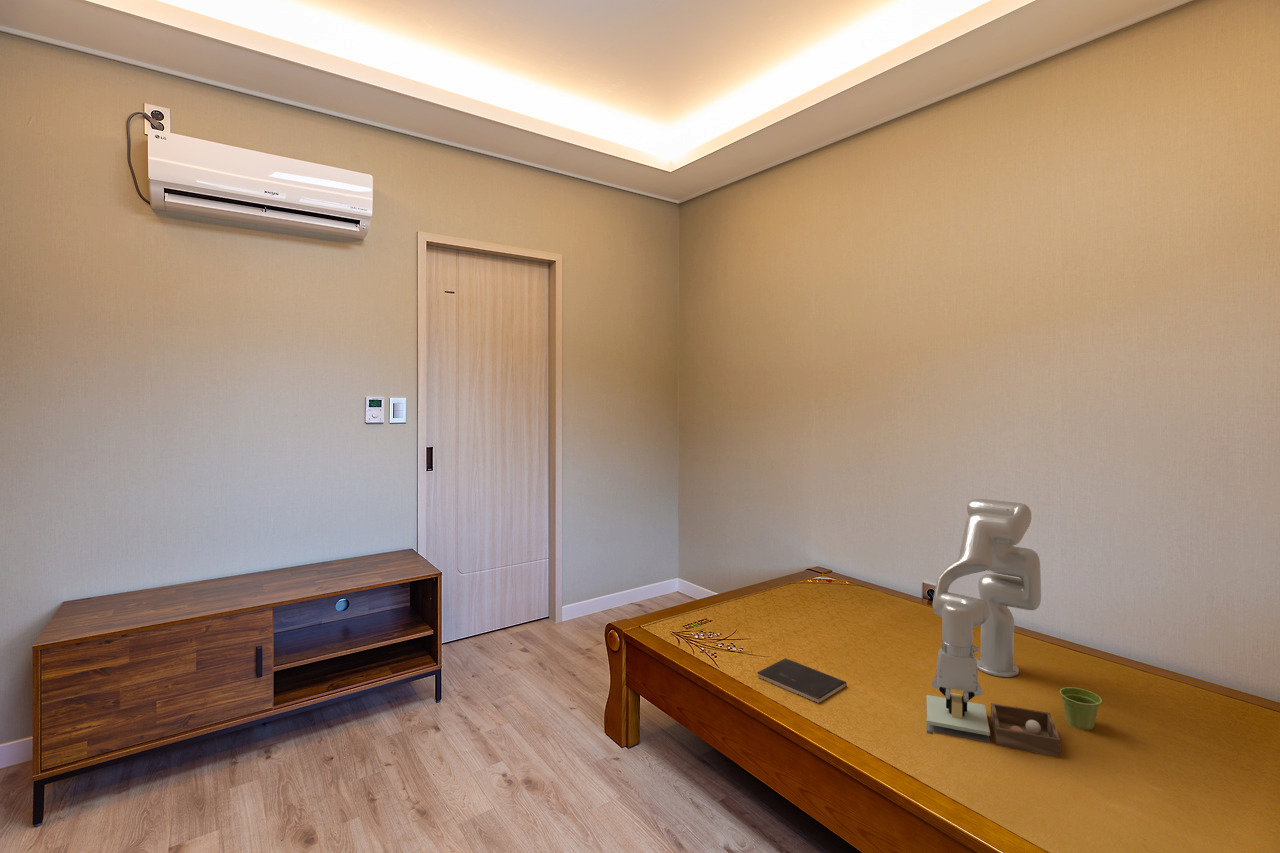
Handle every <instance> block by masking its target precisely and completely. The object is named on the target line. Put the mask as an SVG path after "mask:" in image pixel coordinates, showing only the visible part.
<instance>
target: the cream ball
mask: <svg viewBox="0 0 1280 853" xmlns="http://www.w3.org/2000/svg"><path fill="white" fill-rule="evenodd" d="M1025 727H1026V730H1027V731H1028V732H1029V733H1032V734H1039V733H1040V732H1041V726H1040V724H1039V723H1038V722H1037V721H1035V720H1028V721H1027V722H1026V724H1025Z"/></svg>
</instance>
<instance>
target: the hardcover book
mask: <svg viewBox="0 0 1280 853" xmlns="http://www.w3.org/2000/svg"><path fill="white" fill-rule="evenodd" d="M756 674H758V679H761V680H763V679H764V681H765V680H766V681H765V682H768V683H770V684H772V683H773V684H772V685H775V686H778V687H779V686H780V688H782V689H784V690H787V691H789V692H792V693H793V692H794V693H793V694H795V693H796V695H798V694H799V695H798V696H800V695H801V697H802V696H803V697H802V698H805V699H807V698H808V699H807V700H809V699H810V700H809V701H812V702H814V701H815V702H814V703H816V702H817V703H816V704H820V703H822V702H823V701H825V700H826V699H827V698H828V699H829V697H831V696H832V695H834V694H836V693H838V691H841V690H842V689H844V688H845V687H847V684H848V683H847V681H845V680H842V679H840V678H837V677H835V676H832V675H829V674H828V673H824V672H822V671H819V670H817V669H814V668H812V667H808V666H807V665H804V664H801V663H800V662H797V661H795V660H794V661H793V660H791V659H789V658H786V657H785V658H783V659H781V660H779V661H777V662H774V664H773V663H772V664H771V665H769V666H767V667H765V668H763V669H761V670H759V671H758V672H756ZM819 702H820V703H819Z"/></svg>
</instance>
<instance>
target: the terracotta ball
mask: <svg viewBox="0 0 1280 853" xmlns="http://www.w3.org/2000/svg"><path fill="white" fill-rule="evenodd" d="M1009 729H1010V730H1016V731H1021V732H1024V731H1023V730H1022V729H1021V728H1020V727H1018V726H1011V727H1010V728H1009Z"/></svg>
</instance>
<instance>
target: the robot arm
mask: <svg viewBox="0 0 1280 853" xmlns="http://www.w3.org/2000/svg"><path fill="white" fill-rule="evenodd" d="M966 511H967V514H968V516H967V518H966V520H965V526H964V531H963V534H962V535H963V536H962V540H961V546H960V549H959V556H958V558H957V559H956V560H955V561H954V562H952V563H951V564H949V565H948V566H947V567H946V568H945V569H944V570H943V571H942V572H941V573H940V575H939V577H938V579H937V581H936V584H935V589H934V592H933V597H932V598H933V600H932V610H933V612H934V614H935V615H936V616H937V617H940V618H942V619H941V620H942V624H941V625H942V628H941V630H942V631H941V634H942V636H941V637H942V638H941V647H940V648H939V649H938V651H937V652H938V653H937V660H936V670H935V671H936V674H935V677H934V678H933V680H931V687H933V688H934V689H936V690H938V691H939V692H940V693H941V694H942V695H943V697H944V698H946V708H947V709H949V713H952V697H951V693H952V692H951V690H955V691H956V690H957V691H962V695H961V698H962V716H964V712H967V702H970V700H972V699H973V698H974V697H978V696H979V697H980V696H982V695H983V694H984V693H983V692H984V691H983V690H982V687H981V685H980V683H979V678H978V677H979V676H978V670H980V671H981V672H983V673H985V674H989V675H991V676H994V677H1000V678H1001V677H1003V678H1011V677H1013V678H1014V677H1015V676H1017V675H1019V672H1020V670H1019V667H1018V666H1017V664H1014V659H1015V658H1014V656H1015V655H1014V654H1015V652H1014V650H1015V649H1014V648H1015V647H1014V646H1015V618H1014V615H1013V613H1012V611H1011V610H1010V608H1014V609H1020V610H1026V611H1036V610H1037V609H1038V608H1040V606H1041V602H1042V601H1041V600H1042V588H1041V587H1042V586H1041V560H1040V557H1039V554H1038V552H1036V551H1035V550H1033V549H1031V548H1027V547H1020V546H1017V545H1018V544H1020V542H1021V541H1022V539H1023V538H1024V536H1025V534H1026V533H1027V531H1028V529H1029V527H1030V525H1031V521H1032V512H1031V509H1030V507H1029V506H1028V505H1027V504H1025V503H1021V502H1014V501H1005V500H996V499H983V498H973V499H971V500H969V501H968V502H967V506H966ZM986 571H987V572H989V573H986V574H983V575H982V576H981V577H980V578H979V580H978V583H977V584H978V586H977V587H978V594H979V598H978V597H973V596H968V595H964V594H959V593H953V592H949V588H950V586H951V585H952V583H953V582H954V581H956V580H957V579H959V578H962V577H964V576H968V575H973V574H977V573H983V572H986ZM1009 607H1010V608H1009ZM979 626H980V647H979V646H976V645H974V644H973V643H974V641H973V640H974V636H973V634H974V631H973V630H974V628H977V627H979ZM979 650H980V654H979V655H980V657H978V658H977V657H976V653H977V652H978V653H979Z"/></svg>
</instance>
